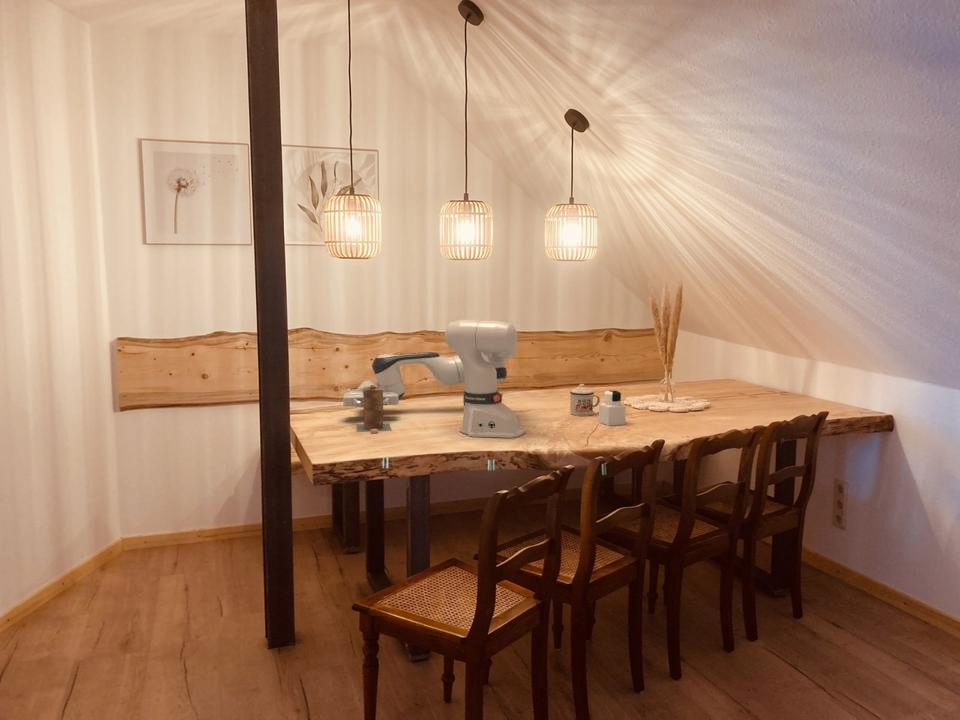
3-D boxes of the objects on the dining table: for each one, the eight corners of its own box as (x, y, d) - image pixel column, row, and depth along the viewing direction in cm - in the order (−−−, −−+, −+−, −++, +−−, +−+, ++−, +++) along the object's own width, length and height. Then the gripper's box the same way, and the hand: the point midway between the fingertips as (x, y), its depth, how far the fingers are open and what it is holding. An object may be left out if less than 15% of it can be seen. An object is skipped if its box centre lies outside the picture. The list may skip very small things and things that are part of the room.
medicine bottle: (615, 420, 303) (616, 389, 301) (625, 424, 296) (626, 392, 294) (598, 422, 300) (599, 390, 299) (608, 426, 294) (608, 393, 292)
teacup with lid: (574, 416, 310) (575, 386, 308) (566, 412, 318) (566, 382, 317) (604, 415, 313) (604, 385, 311) (594, 410, 321) (595, 381, 320)
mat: (389, 424, 296) (389, 423, 296) (391, 431, 284) (391, 430, 284) (356, 425, 294) (356, 424, 294) (356, 432, 282) (356, 431, 282)
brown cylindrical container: (382, 425, 293) (381, 383, 291) (383, 429, 287) (382, 386, 284) (363, 425, 292) (363, 383, 290) (364, 429, 285) (363, 387, 283)
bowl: (379, 433, 282) (379, 428, 282) (376, 435, 279) (376, 430, 279) (372, 432, 283) (372, 428, 282) (369, 434, 280) (369, 429, 280)
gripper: (398, 403, 309) (400, 411, 295) (343, 405, 305) (343, 413, 292) (397, 387, 308) (400, 394, 294) (342, 389, 304) (343, 396, 291)
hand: (371, 403), depth 293 cm, fingers open, 8 cm apart
